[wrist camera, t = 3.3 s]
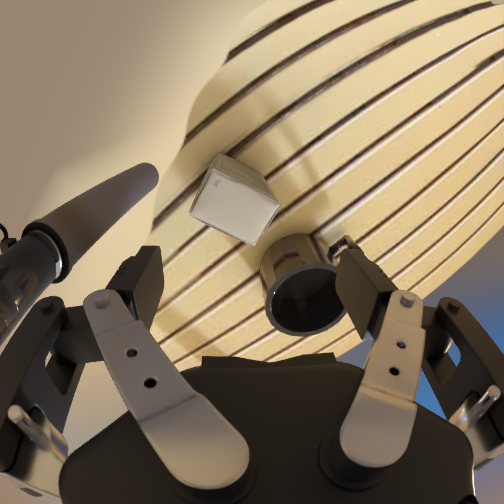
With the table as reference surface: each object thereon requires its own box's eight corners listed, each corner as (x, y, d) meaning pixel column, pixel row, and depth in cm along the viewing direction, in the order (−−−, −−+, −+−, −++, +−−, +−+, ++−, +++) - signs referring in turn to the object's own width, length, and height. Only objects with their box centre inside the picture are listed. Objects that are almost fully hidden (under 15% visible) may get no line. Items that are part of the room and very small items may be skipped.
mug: (290, 311, 41) (300, 348, 34) (243, 268, 38) (245, 303, 31) (362, 255, 38) (387, 285, 31) (322, 202, 34) (344, 224, 27)
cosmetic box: (201, 182, 32) (183, 214, 21) (218, 150, 31) (208, 165, 20) (248, 206, 34) (254, 249, 23) (266, 176, 32) (282, 205, 21)
